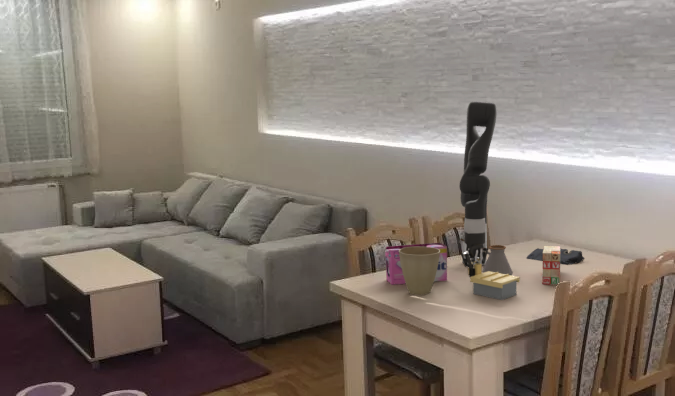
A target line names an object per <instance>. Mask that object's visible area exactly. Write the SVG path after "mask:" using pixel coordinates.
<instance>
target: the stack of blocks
mask: <svg viewBox="0 0 675 396" xmlns="http://www.w3.org/2000/svg"><path fill="white" fill-rule="evenodd" d="M560 248H561V246H558V245H557V246H556V245H544V246H543V249H544V250H543V261H542V275H541V276H542V278H541V279H542V280H541V281H542V282H541V283H542V285H550V284H558V283H559V282H561V264H560ZM559 284H560V283H559Z"/></svg>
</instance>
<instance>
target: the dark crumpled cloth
mask: <svg viewBox="0 0 675 396" xmlns="http://www.w3.org/2000/svg"><path fill="white" fill-rule="evenodd" d="M543 250H544V248H539V247H537V248H535V249H534V250H533V251H532V252H530V253H529V254H528V255H527V256H526V259H527V260H533V261H540V262H543ZM584 259H585V257H584V256H583V251H581V250H574V249H571V250H570V251H569V250H568V249H566V248H561V247H560V265H565V266H566V265H567V266H569V265H574V264H579V263H581V262H583V260H584Z"/></svg>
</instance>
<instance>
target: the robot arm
mask: <svg viewBox="0 0 675 396" xmlns="http://www.w3.org/2000/svg"><path fill="white" fill-rule="evenodd" d="M497 116H498V109H497V104H495V103H493V102H487V101H486V102H484V101H471V102H469V103H468V105H467V109H466V134H465V135H466V139H465V145H464V155H463V157H464V159H463V174H462V176H461V178H460V181H459V190H460V204H461V207H464V217H463V218H464V219H463V223H464V225H463V227H464V229H463V234H464V235H463V239H464V241H461V242H462V247H461V248H462V252H461V253H460V254H461V255H460V256H461V258H462V263H463V264H464V268H465V267H466V268H468V267H469V275H468V277H469V278H470V277H472V276H475V264H476V263H479V264H482V266H485V264H486V261H487V259H488V258H487V255H488V254H487V252H489V247H488V248H487V242H488V241H487V233H488V231H487V226H488V224H487V217H488V215H487V211H488V210H487V209H488V194H489V191H490V187H491V182H490V179H489V177H488V176H487V175H482V174H484V173H485V172H486V171H487V169H488V160H489V152H490V147H491V143H492V139H493V135H494V131H495V127H496V123H497ZM477 127H479V128H480V127H482V128H485V129H484V131H483V132H482V134H481V135H480V134H479V133H478V129H477ZM464 242H465V243H464ZM472 262H473V264H472Z"/></svg>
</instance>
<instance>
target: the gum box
mask: <svg viewBox="0 0 675 396" xmlns="http://www.w3.org/2000/svg"><path fill="white" fill-rule="evenodd" d="M417 246H420V247H432V248H437V249H439V250H440V257H439V263H438V268H437V272H436V276H435V279H434V282H441V281H442V282H443V281H448V246H447V245H445V244H444V243H441V242H431V243H429V242H428V243H417V244H404V245H392V246H391V245H389V246H388V245H387V246H386V247H385V252H384V253H385V254H384V256H385V268H386V269H385V272H386V277H385V278H386V281H387V282H388V283H390V285H391V286H392V285H404V284H405V283H406V282H405V279H404V276H403V272H402V267H401V262H400V256H399V250H400V249H402V248H405V247H417ZM405 285H406V284H405Z"/></svg>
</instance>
